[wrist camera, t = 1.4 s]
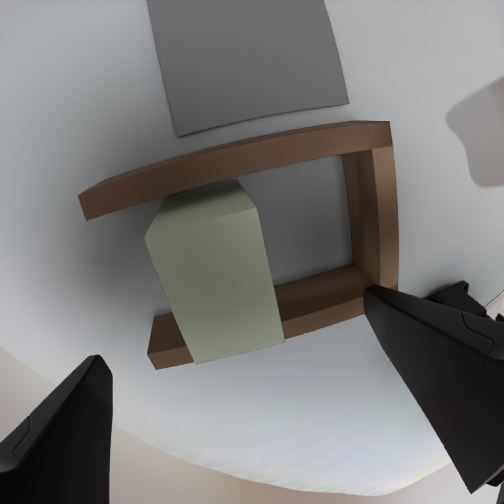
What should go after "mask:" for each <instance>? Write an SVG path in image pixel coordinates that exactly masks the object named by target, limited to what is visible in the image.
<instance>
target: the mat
mask: <svg viewBox="0 0 504 504" xmlns="http://www.w3.org/2000/svg"><path fill="white" fill-rule="evenodd" d="M147 4H148V9H149V14H150V19H151V24H152V29H153V34H154V39H155V44H156V49H157V53H158V58H159V62H160V67H161V71H162V76H163V80H164V85H165V89H166V93H167V98H168V102H169V106H170V110H171V114H172V118H173V122H174V126H175V130H176V134H177V137H179V136H182V135H186V134H189V133H193V132H197V131H201V130H205V129H209V128H213V127H217V126H221V125H225V124H230V123H234V122H239V121H243V120H248V119H253V118H258V117H263V116H268V115H274V114H279V113H285V112H291V111H298V110H304V109H311V108H319V107H327V106H335V105H344V104H349V99H348V94H347V89H346V84H345V80H344V75H343V71H342V66H341V62H340V58H339V54H338V50H337V46H336V42H335V38H334V34H333V31H332V27H331V23H330V20H329V17H328V13H327V10H326V7H325V3H324V0H147Z"/></svg>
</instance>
